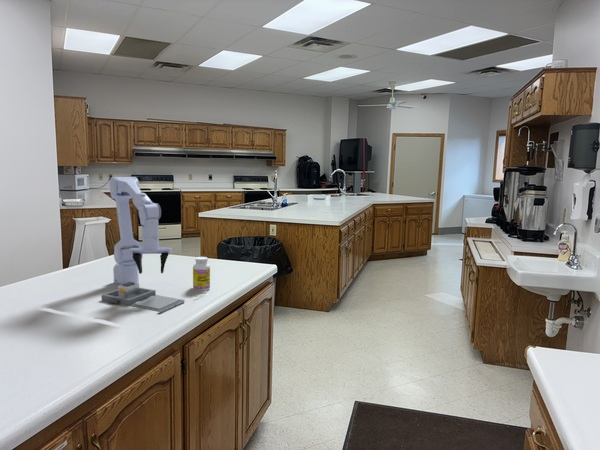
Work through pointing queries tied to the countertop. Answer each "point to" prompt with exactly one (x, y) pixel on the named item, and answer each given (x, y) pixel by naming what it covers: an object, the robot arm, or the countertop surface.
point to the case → (144, 300)
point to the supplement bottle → (201, 274)
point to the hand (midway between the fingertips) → (151, 272)
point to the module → (128, 290)
